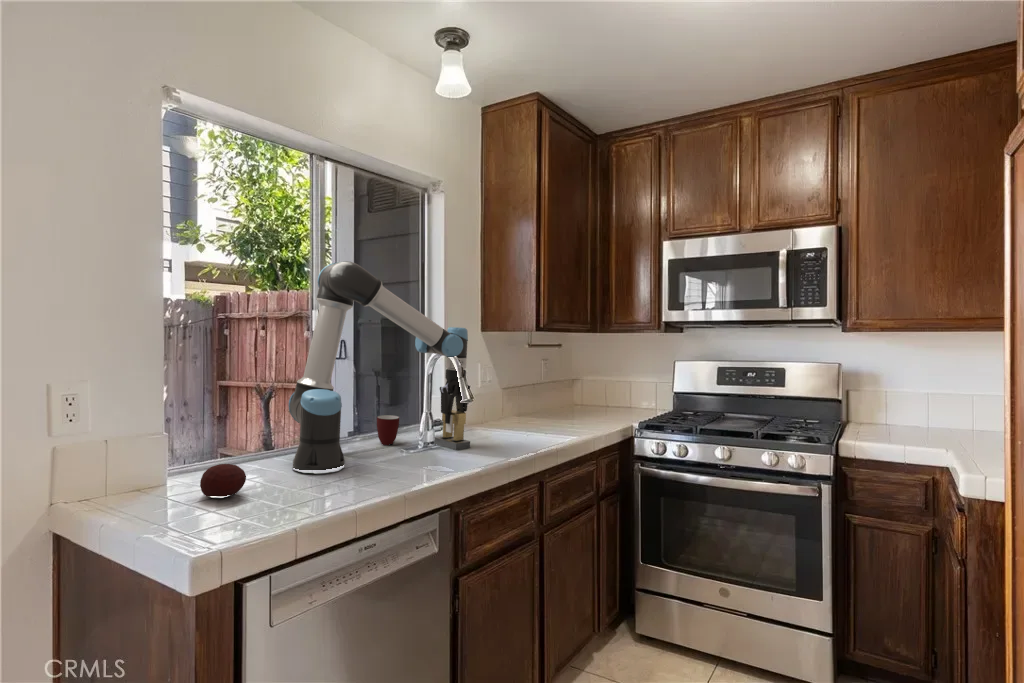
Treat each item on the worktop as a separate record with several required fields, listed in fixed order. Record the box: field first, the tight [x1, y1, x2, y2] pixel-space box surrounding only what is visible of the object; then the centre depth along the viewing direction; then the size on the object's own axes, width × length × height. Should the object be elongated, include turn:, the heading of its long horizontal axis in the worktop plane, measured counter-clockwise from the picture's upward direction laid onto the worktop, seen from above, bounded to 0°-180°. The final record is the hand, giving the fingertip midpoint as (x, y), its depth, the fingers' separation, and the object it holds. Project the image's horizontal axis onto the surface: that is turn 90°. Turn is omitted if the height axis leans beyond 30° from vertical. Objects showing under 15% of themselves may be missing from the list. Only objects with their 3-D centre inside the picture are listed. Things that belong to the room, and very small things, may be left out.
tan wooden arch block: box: [441, 409, 467, 441], centre depth 216 cm, size 4×9×10 cm, turn 48°
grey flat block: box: [434, 435, 471, 451], centre depth 216 cm, size 7×12×2 cm, turn 48°
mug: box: [376, 414, 400, 446], centre depth 214 cm, size 11×8×10 cm
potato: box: [199, 463, 247, 497], centre depth 147 cm, size 12×11×8 cm
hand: (453, 431), depth 216 cm, fingers closed on tan wooden arch block, 3 cm apart
